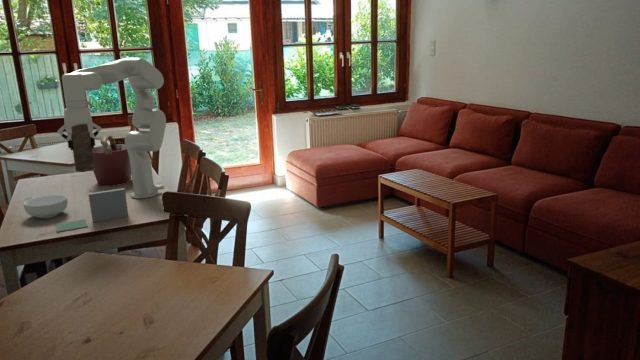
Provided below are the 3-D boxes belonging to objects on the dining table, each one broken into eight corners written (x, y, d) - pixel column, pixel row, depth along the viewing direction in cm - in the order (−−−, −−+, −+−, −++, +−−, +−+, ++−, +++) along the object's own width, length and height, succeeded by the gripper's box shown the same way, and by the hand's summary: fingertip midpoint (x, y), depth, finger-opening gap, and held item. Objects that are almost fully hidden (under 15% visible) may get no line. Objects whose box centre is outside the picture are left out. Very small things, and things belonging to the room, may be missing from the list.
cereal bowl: (78, 212, 221) (75, 196, 219) (44, 224, 206) (41, 208, 205) (51, 207, 228) (49, 193, 226) (17, 219, 213) (14, 203, 212)
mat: (85, 220, 210) (85, 219, 210) (87, 227, 201) (87, 226, 201) (56, 225, 205) (55, 224, 205) (57, 232, 196) (57, 231, 196)
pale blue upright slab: (127, 214, 215) (124, 188, 212) (128, 216, 213) (124, 189, 210) (92, 220, 208) (88, 193, 205) (93, 222, 207) (88, 194, 204)
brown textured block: (87, 174, 201) (80, 124, 197) (71, 173, 203) (64, 124, 198) (99, 170, 209) (93, 122, 204) (83, 169, 210) (77, 122, 205)
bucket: (124, 188, 257) (117, 140, 251) (81, 188, 258) (74, 141, 251) (141, 175, 281) (135, 132, 274) (102, 176, 281) (95, 132, 275)
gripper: (98, 102, 206) (104, 145, 211) (51, 105, 198) (58, 149, 202) (100, 104, 200) (106, 147, 204) (52, 107, 192) (58, 152, 196)
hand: (82, 148), depth 203 cm, fingers closed on brown textured block, 7 cm apart
